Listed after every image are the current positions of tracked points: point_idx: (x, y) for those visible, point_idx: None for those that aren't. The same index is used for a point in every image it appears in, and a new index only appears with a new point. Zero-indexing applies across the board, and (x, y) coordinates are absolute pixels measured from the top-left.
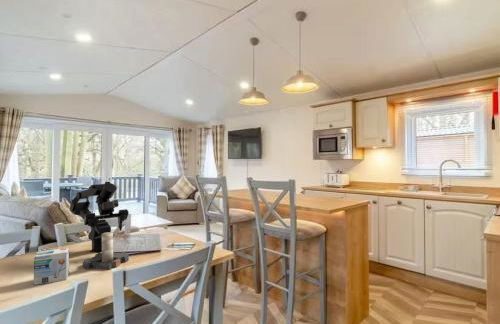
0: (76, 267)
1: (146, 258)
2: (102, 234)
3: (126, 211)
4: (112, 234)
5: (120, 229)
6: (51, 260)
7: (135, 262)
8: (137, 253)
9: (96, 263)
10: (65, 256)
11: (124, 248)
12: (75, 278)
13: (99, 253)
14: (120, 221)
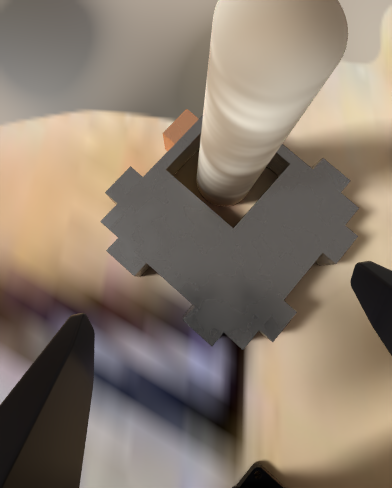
0: (370, 235)
1: (18, 183)
2: (338, 11)
3: None
4: (219, 9)
5: (85, 318)
6: None
7: (86, 150)
8: (42, 308)
9: (285, 149)
10: None
11: (98, 481)
12: (358, 86)
13: (271, 327)
14: (1, 457)
